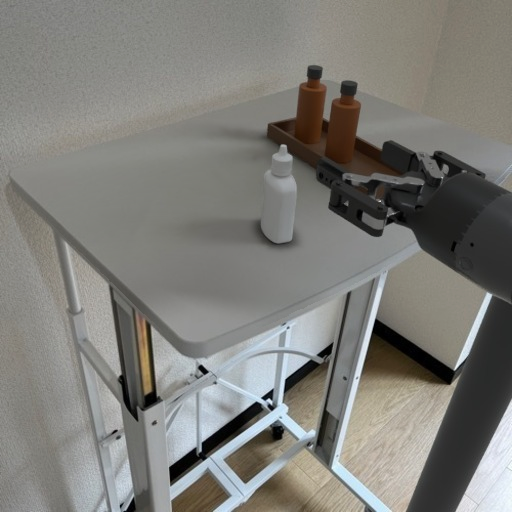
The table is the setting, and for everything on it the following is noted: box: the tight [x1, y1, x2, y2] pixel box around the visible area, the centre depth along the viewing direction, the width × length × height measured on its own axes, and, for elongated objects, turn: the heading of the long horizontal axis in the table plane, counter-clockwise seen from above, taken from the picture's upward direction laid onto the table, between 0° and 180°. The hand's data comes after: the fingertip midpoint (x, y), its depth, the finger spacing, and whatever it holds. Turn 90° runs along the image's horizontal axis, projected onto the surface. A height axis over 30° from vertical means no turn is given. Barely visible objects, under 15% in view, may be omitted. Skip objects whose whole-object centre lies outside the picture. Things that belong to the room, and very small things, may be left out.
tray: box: [266, 116, 404, 200], centre depth 88 cm, size 10×25×2 cm, turn 34°
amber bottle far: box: [294, 64, 328, 144], centre depth 90 cm, size 4×4×12 cm
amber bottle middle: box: [325, 79, 362, 163], centre depth 84 cm, size 4×4×12 cm
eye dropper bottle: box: [260, 145, 298, 244], centre depth 67 cm, size 4×6×12 cm
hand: (352, 157), depth 54 cm, fingers open, 8 cm apart
